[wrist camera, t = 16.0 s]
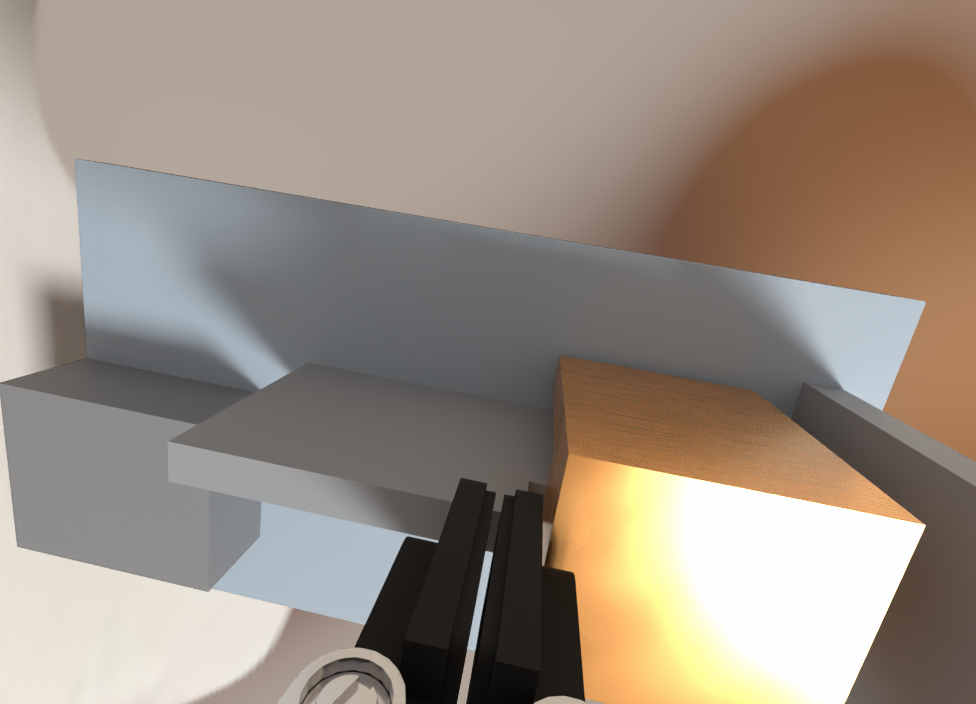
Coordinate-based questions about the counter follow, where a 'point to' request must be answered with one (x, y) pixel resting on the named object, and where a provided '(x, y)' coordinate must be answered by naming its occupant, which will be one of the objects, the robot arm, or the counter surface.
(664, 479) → the clip
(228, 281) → the rail
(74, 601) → the counter surface
